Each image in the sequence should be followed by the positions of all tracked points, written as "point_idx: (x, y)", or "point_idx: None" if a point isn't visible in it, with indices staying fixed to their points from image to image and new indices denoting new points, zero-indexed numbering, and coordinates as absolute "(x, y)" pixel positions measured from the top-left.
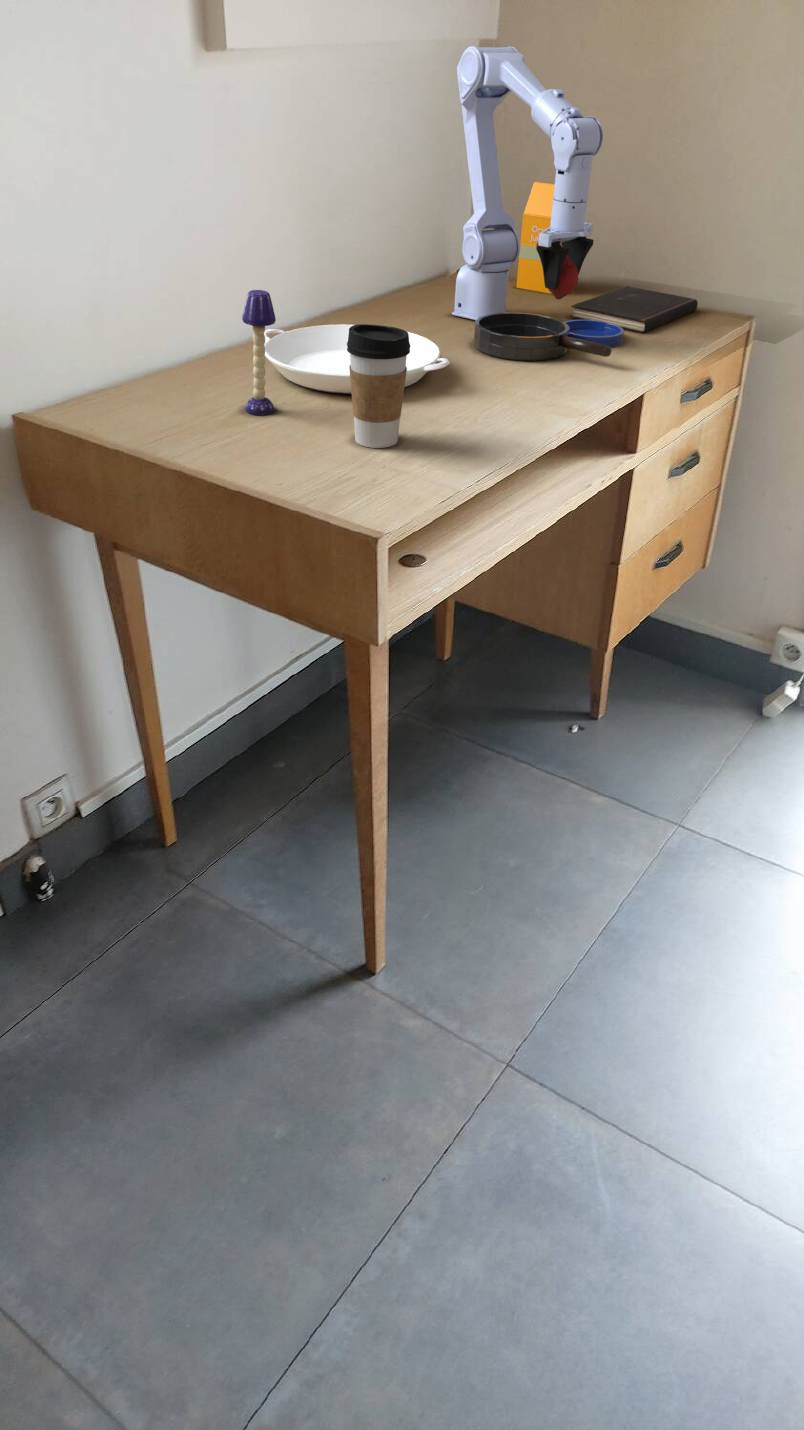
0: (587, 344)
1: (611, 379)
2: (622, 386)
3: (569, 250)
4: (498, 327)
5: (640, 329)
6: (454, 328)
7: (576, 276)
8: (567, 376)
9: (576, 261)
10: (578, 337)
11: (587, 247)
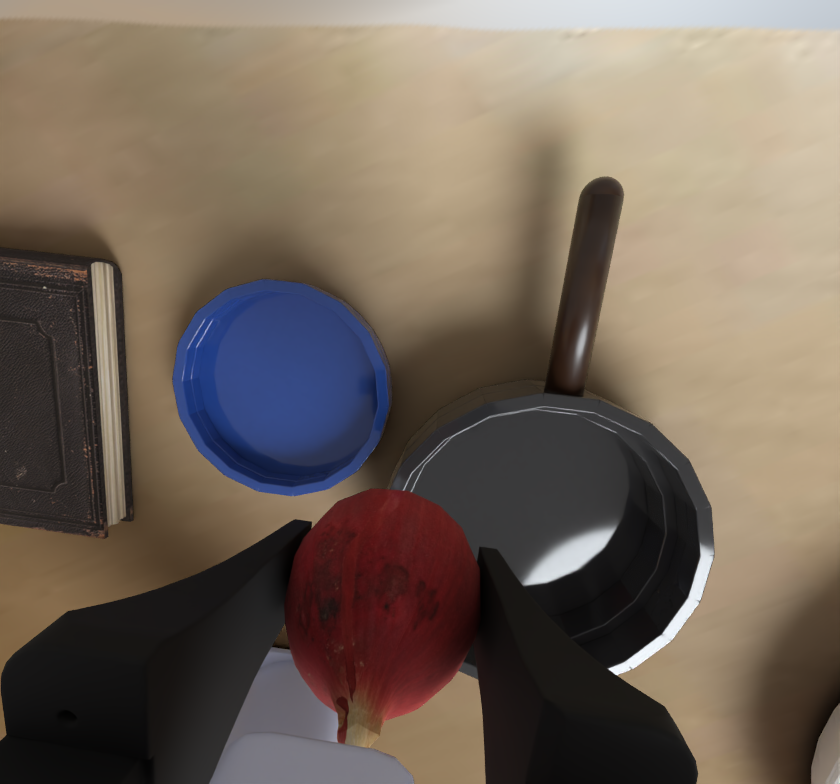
0: (606, 277)
1: (688, 138)
2: (750, 69)
3: (215, 719)
4: None
5: (110, 279)
6: (452, 717)
7: (383, 513)
8: (732, 279)
9: (251, 602)
10: (388, 392)
11: (163, 624)
